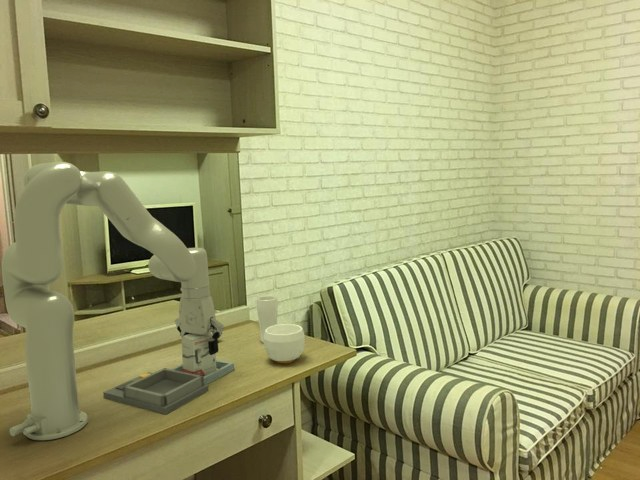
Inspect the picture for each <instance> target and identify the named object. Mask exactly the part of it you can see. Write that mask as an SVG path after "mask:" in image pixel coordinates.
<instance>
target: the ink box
mask: <svg viewBox="0 0 640 480" xmlns="http://www.w3.org/2000/svg"><path fill="white" fill-rule="evenodd" d="M211 334H212V332H211ZM212 336H213V334H212ZM209 341H210V339H209V338H208V336H207V335H206V334H205V335H199V334H192V333H191V334H187V335H184V336H183V337H181V352H182V353H181V354H182V356H181V357H182V364H183V372H186V373H191V374H196V375H201V376H206V375H208V374H210V373H212V372H214V371H216V370H217V368H216V360H217V353H215V354H213V355H210V354H209V344H208V342H209Z"/></svg>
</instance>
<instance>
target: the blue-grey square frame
mask: <svg viewBox="0 0 640 480" xmlns="http://www.w3.org/2000/svg"><path fill="white" fill-rule="evenodd" d="M171 369H172V370H177V371H181V372H183V363H181V364H179V365H177V366H175V367H172V368H171ZM233 371H235V363H234V362H231V361H224V360H220V359H219V360H218V359H216V371H214V372H212V373H210V374H208V375H206V376H204V384H205V385H209V384H210V383H213V382H215V381H217V380H218V379H220V378H222V377H224V376H225V375H228V374H229V373H231V372H233Z"/></svg>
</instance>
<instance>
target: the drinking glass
mask: <svg viewBox="0 0 640 480" xmlns="http://www.w3.org/2000/svg"><path fill="white" fill-rule="evenodd" d="M256 310H257V311H256V312H257V318H258V325H259V332H260V333H259V335H260V342H261V343H263V344H264V333H265V330H266V329H267V328H268V327H270V326H274V325H278V299H277V296H275V295H262V296H259V297H257V298H256Z"/></svg>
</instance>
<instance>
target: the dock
mask: <svg viewBox="0 0 640 480" xmlns="http://www.w3.org/2000/svg"><path fill="white" fill-rule="evenodd" d="M209 391H210V390H209V384H207V385H205V384H204V376H201V375H196V374H191V373H186V372H181V371H177V370H172V368H168V367H167V368H166V367H164V368H162V369H159V370H158V371H155V372H149V371H148V372H146V373H144V374H141V375H139V376H136V377H134V378H133V379H130V380H127V381H126V382H124V383H121V384H118V385H116V386H114V387H112V388H110V389H107V390H105V391H103V393H102V394H103V398H104V399H106V400H107V399H108V400H110V401H114V402H117V403H121V404H126V405H129V406H133V407H137V408H141V409H144V410H147V411H151V412H155V413H159V414H162V415H168V414H170V413H171V412H173V411H175V410H177V409H180V407H182V406H184V405H186V404H187V403H189V402H191V401H193V400H195V399H197V398H199V397H200V396H202V395H204V394H205V393H207V392H209Z"/></svg>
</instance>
